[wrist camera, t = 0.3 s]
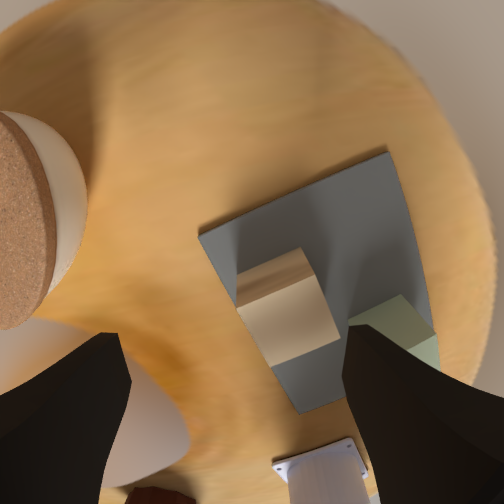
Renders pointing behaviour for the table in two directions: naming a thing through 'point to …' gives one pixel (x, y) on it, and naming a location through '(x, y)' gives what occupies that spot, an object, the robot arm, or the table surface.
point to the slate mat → (330, 260)
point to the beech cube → (284, 308)
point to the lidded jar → (36, 213)
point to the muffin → (157, 496)
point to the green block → (403, 328)
